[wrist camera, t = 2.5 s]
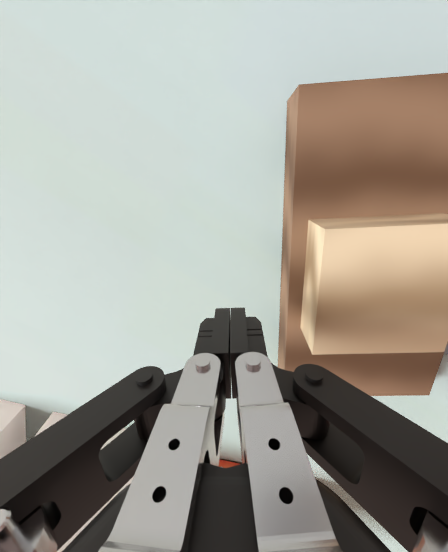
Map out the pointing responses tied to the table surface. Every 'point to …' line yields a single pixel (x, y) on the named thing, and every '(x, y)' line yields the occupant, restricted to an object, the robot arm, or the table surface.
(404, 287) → the maple tile
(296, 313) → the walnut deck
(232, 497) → the robot arm
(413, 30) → the table surface
